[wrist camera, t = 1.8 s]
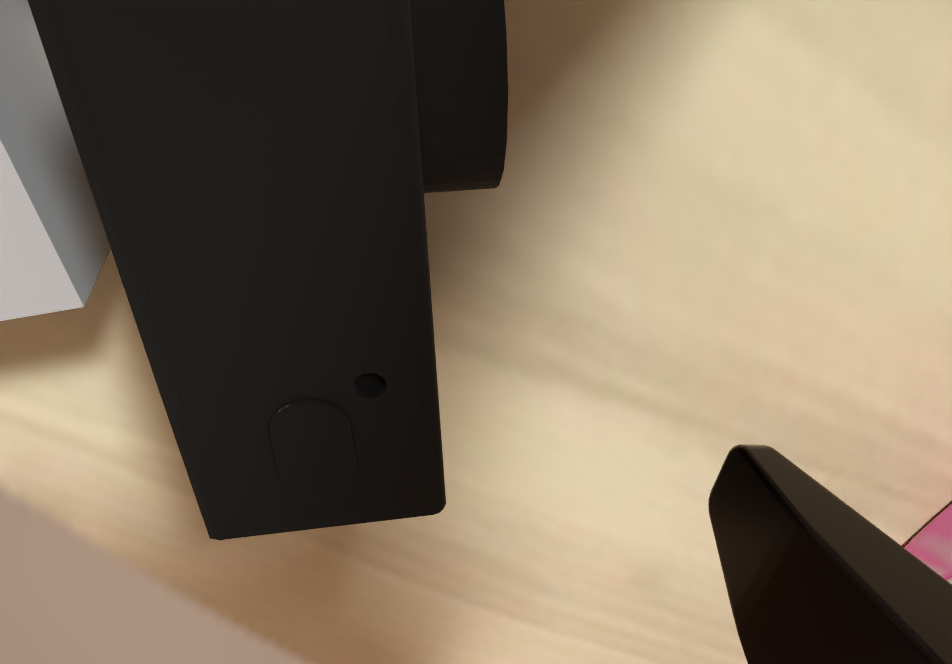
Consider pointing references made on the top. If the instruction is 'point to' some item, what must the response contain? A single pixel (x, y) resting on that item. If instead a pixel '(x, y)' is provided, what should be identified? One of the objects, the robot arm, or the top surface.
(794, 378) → the top surface
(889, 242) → the top surface
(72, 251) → the grey block
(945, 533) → the gum box
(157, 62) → the digital camera
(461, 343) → the top surface
